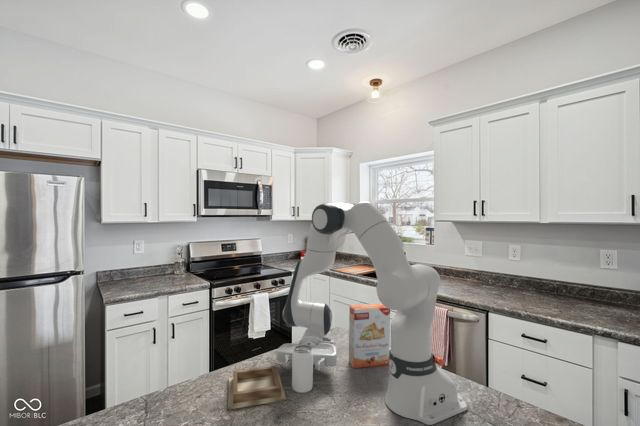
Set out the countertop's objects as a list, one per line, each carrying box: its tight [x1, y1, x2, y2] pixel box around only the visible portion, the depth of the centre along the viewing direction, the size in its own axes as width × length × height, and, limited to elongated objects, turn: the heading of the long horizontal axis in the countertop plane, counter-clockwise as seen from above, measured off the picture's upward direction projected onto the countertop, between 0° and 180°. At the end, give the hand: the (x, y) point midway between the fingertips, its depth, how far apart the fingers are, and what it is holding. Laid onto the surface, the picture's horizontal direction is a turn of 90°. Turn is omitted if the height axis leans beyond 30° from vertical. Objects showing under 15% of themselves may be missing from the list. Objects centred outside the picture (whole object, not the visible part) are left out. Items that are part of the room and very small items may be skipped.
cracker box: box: [348, 303, 391, 369], centre depth 109 cm, size 14×6×21 cm, turn 104°
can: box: [291, 345, 314, 394], centre depth 93 cm, size 6×6×12 cm
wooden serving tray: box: [227, 365, 287, 410], centre depth 92 cm, size 16×16×3 cm
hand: (302, 366), depth 92 cm, fingers open, 8 cm apart
